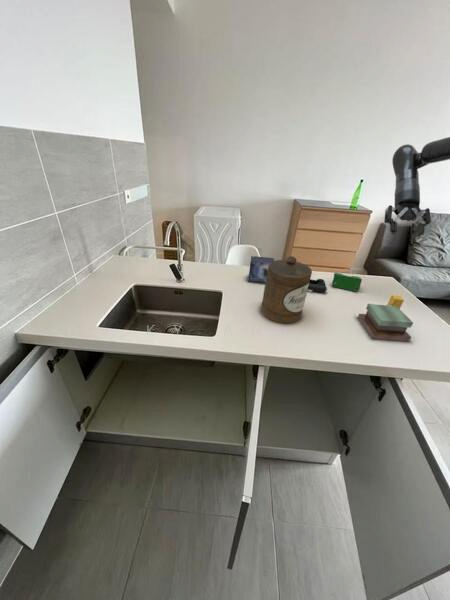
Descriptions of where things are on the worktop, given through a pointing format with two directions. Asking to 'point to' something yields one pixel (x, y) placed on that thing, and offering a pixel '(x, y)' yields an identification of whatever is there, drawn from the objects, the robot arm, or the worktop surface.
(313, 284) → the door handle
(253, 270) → the small box
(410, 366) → the worktop surface
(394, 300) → the bar
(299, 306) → the wooden container
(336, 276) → the green block
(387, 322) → the two-tone stepped base
